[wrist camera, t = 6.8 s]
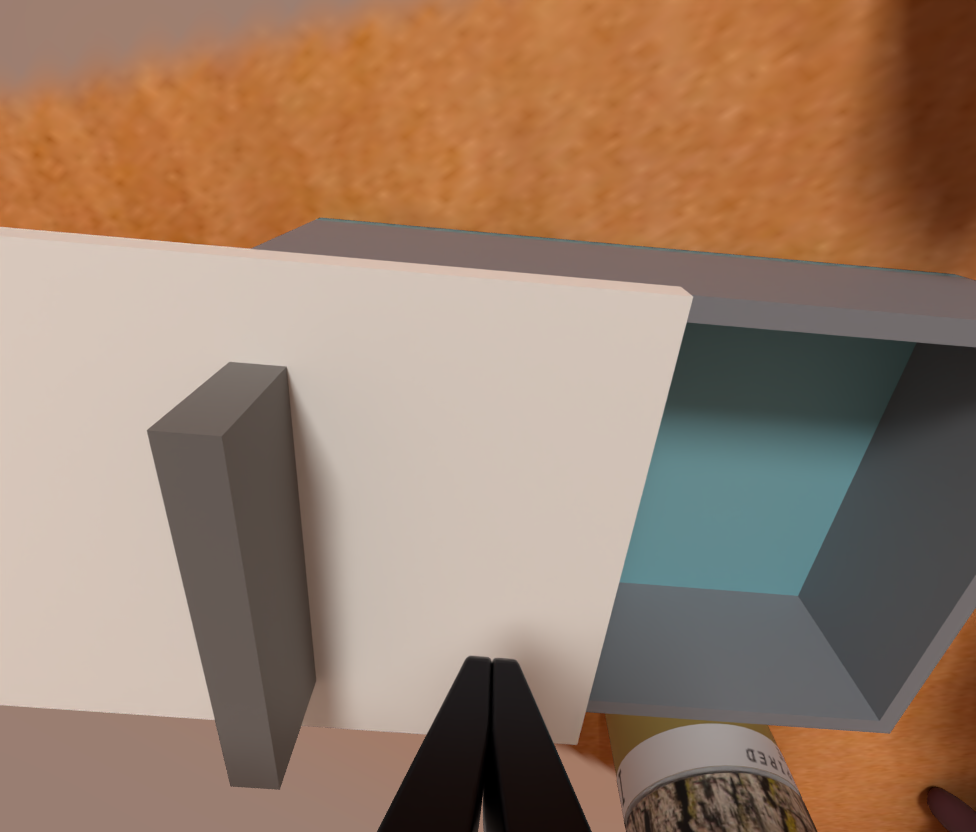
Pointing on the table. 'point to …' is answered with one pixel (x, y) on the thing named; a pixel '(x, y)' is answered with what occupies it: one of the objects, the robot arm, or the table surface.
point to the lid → (312, 482)
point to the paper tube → (703, 777)
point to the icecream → (951, 811)
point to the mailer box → (773, 478)
